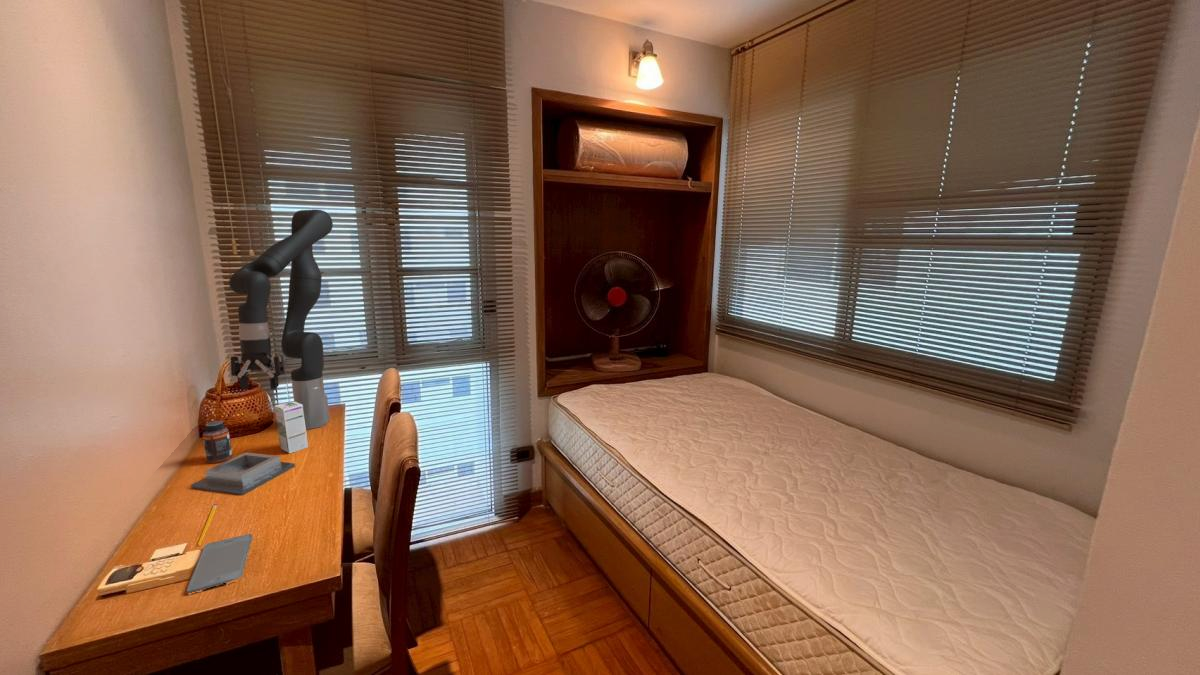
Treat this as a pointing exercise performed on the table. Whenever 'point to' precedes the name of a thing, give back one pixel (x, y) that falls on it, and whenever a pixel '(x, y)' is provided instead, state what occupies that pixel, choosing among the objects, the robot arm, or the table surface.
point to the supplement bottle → (217, 442)
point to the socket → (242, 473)
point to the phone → (220, 563)
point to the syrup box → (291, 426)
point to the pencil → (207, 524)
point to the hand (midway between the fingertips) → (259, 388)
